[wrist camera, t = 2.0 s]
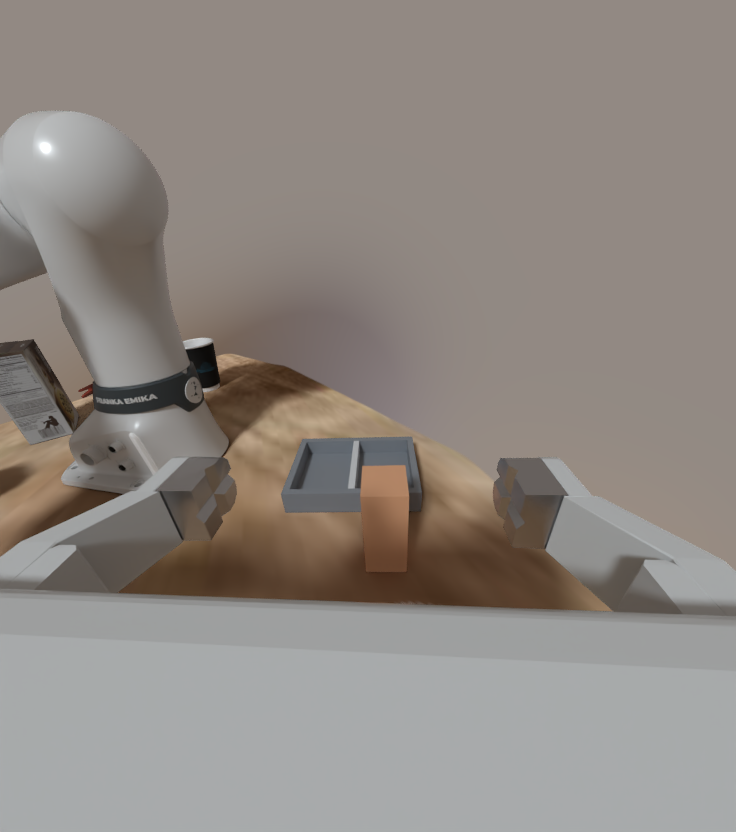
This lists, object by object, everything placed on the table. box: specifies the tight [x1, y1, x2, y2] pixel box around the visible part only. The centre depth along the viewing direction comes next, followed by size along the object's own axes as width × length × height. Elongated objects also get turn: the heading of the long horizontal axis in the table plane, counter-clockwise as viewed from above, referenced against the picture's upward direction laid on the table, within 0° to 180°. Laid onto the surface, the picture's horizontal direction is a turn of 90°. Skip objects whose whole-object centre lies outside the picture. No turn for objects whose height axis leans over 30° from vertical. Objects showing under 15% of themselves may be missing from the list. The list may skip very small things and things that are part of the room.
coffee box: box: [0, 339, 79, 445], centre depth 54 cm, size 9×6×16 cm
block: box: [360, 465, 409, 572], centre depth 29 cm, size 4×4×10 cm
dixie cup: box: [183, 338, 220, 392], centre depth 70 cm, size 8×8×11 cm
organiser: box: [281, 437, 422, 512], centre depth 41 cm, size 16×12×3 cm
